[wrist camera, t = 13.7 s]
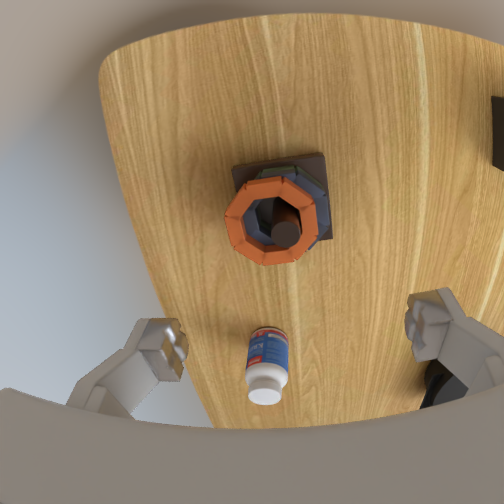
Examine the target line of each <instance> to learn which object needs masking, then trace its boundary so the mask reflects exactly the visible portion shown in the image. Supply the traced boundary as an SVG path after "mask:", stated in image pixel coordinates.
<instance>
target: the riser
mask: <svg viewBox="0 0 504 504" xmlns="http://www.w3.org/2000/svg"><path fill="white" fill-rule="evenodd" d="M492 114H493V166H495V167H496V168H498V169H500V170H502V171H504V98H502V97H494V96H492Z"/></svg>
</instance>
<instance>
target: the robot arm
mask: <svg viewBox="0 0 504 504" xmlns="http://www.w3.org/2000/svg"><path fill="white" fill-rule="evenodd" d="M407 304H408V307H409V309H408V311H407V312H406V313H405V320H404V322H405V331H406V335H407V338H408V339H409V340H410V341H412V346H411V350H412V352H413V355H414V358H415V361H416V362H422V361H427V360H432V359H437V358H438V359H437V360H438V361H440V362H441V363H442V364H443V365H444V366H445V367H446V368H447V369H448V370H449V371H451V372H452V373H453V374H454V375H455V376H456V377H457V378H458V379H459V380H460V381H461V382H462V383H464V384H465V385H466V386H467V387H468V388H469V389H468V391H467V393H466V394H465V396H464V397H463V398H460V399H457V400H453V401H450V402H446V403H443V404H439V405H435V406H431V407H427V408H423V409H419V410H415V411H410V412H406V413H401V414H396V415H391V416H386V417H380V418H375V419H369V420H362V421H355V422H348V423H340V424H331V425H321V426H310V427H295V428H272V429H228V428H206V427H191V426H179V425H169V424H161V423H152V422H146V421H139V420H135V419H134V418H133V417H132V416H131V415H130V413H131V412H132V411H133V410H134V409H135V408H136V407H137V406H138V405H139V404H140V403H141V402H142V400H143V399H144V398H145V397H146V396H147V395H148V394H149V393H150V392H151V391H152V390H153V389H154V388H155V387H156V386H157V385H158V383H159V381H170V382H171V381H172V382H180V379H181V375H182V372H183V369H184V367H183V365H182V362H183V361H184V360H185V359H186V358H187V356H188V349H189V344H188V340H187V337H186V335H185V334H184V333H183V332H181V331H180V327H181V324H180V322H179V321H178V319H176V318H151V319H142V318H141V319H139V320H138V321H137V323H136V325H135V327H134V329H133V330H132V332H131V334H130V337H129V338H128V341H127V342H126V344H125V346H124V349H119V350H118V351H117V352H115V353H114V354H113V355H111V356H110V357H109V358H108V359H106V360H105V361H104V362H102V363H101V364H100V365H99V366H97V367H96V368H94V369H93V370H92V371H91V372H89V373H88V374H87V375H85V376H84V377H83V378H81V379H80V380H79V381H78V382H77V383H76V385H75V387H74V389H73V391H72V393H71V395H70V397H69V399H68V401H67V403H66V405H62V404H58V403H55V402H52V401H48V400H45V399H42V398H38V397H35V396H32V395H29V394H26V393H23V392H20V391H17V390H15V389H12V388H4V389H2V390H1V391H0V504H504V337H503V336H501V335H500V334H498V333H496V332H495V331H493V330H491V329H490V328H488V327H486V326H485V325H483V324H481V323H480V322H478V321H476V320H475V319H473V318H471V317H466V315H465V313H464V312H463V310H462V308H461V306H460V305H459V303H458V301H457V300H456V298H455V296H454V295H453V293H452V291H451V290H450V288H448V287H445V288H440V289H435V290H431V291H425V292H420V293H414V294H410V295H409V297H408V301H407Z"/></svg>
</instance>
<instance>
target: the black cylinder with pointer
mask: <svg viewBox="0 0 504 504" xmlns="http://www.w3.org/2000/svg"><path fill="white" fill-rule="evenodd" d="M437 359H438V358H437ZM437 359H432V360H431V362H430V364H429V365H428V367H427V370H426V372H425V377H424V382H425V386H426V389H427V391H426V394H425V396H424V399H423V401H422V404H421V406H420V409H423V408H427V407H431V406H435V405H439V404H443V403H446V402H450V401H453V400H457V399H460V398H463V397H464V396H465V394H466V393H467V391H468V389H469V388H468V387H467V386H466V385H465V384H464V383H462V382H461V381H460V380H459V379H458V378H457V377H456V376H455V375H454V374H453V373H452V372H451V371H449V370H448V369H447V368H446V367H445V366H444V365H443V364H442V363H441V362H440V361H438V360H437Z"/></svg>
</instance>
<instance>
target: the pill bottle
mask: <svg viewBox="0 0 504 504" xmlns="http://www.w3.org/2000/svg"><path fill="white" fill-rule="evenodd" d="M245 380H246V382H247V384H248V385H249V391H248V397H249V399H250V400H251V401H252V402H254V403H256V404H260V405H271V404H275V403H277V402H279V401H280V399H281V392H282V388H283V387H284V386H285V384H286V383H287V380H288V338H287V336H286V335H285V334H284V333H283V332H282V331H280V330H278V329H275V328H262V329H259V330H257V331H255V332H254V333H253V334H252V336H251V338H250V343H249V350H248V358H247V365H246V373H245Z"/></svg>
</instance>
